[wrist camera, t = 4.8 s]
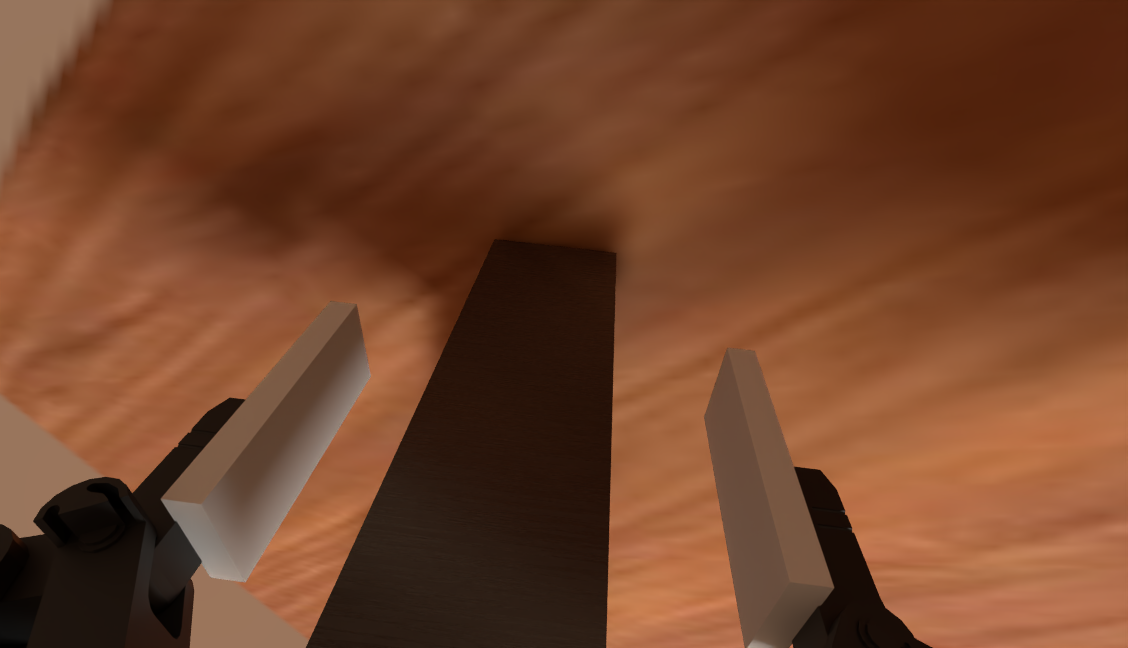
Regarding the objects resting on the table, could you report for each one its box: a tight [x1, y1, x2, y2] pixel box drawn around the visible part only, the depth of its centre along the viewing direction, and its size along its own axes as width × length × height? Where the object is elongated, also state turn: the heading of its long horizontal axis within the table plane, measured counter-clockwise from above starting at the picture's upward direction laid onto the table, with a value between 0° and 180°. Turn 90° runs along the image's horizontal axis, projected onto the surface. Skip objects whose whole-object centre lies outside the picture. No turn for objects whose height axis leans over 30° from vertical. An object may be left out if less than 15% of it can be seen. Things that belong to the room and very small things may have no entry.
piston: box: [306, 240, 616, 648], centre depth 18 cm, size 23×7×13 cm, turn 176°
